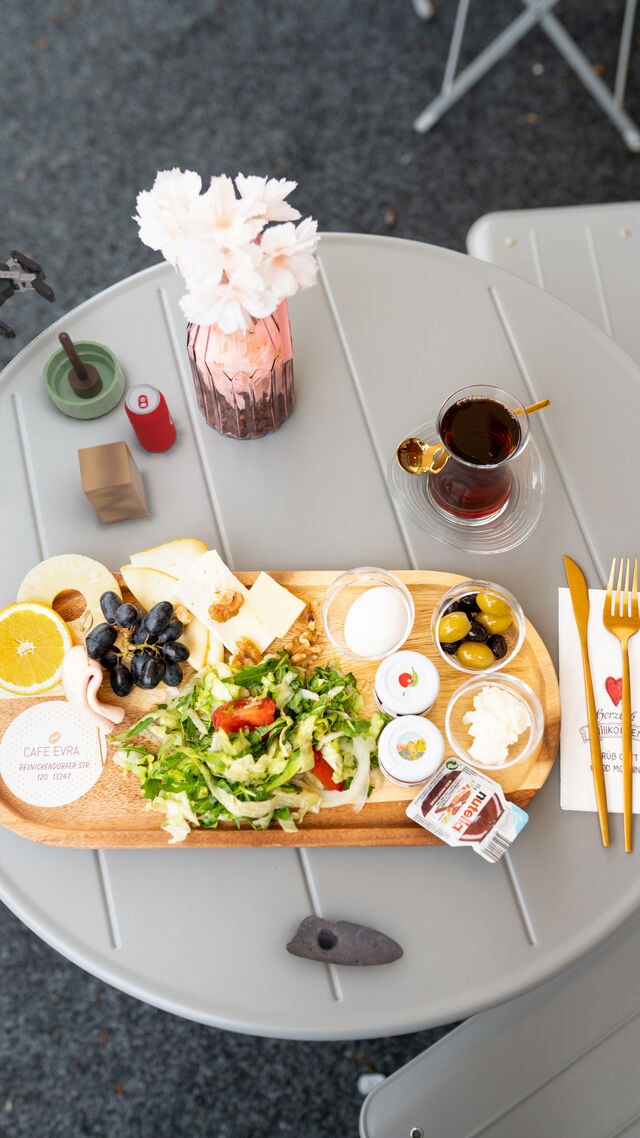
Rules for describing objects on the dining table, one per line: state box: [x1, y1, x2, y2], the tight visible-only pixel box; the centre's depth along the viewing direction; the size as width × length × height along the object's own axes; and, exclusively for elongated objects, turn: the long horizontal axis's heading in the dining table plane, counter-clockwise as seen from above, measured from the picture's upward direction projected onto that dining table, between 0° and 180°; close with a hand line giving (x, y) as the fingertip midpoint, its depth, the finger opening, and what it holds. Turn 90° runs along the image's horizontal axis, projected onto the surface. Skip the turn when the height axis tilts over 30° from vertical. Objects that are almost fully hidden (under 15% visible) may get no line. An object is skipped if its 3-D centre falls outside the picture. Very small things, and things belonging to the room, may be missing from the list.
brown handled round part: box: [57, 331, 103, 399], centre depth 130 cm, size 5×5×14 cm
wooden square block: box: [77, 440, 149, 525], centre depth 125 cm, size 7×7×12 cm
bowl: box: [42, 340, 126, 420], centre depth 135 cm, size 12×12×5 cm
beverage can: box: [124, 383, 177, 453], centre depth 129 cm, size 6×6×12 cm
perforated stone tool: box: [285, 915, 405, 967], centre depth 105 cm, size 15×5×7 cm, turn 79°
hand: (32, 316), depth 126 cm, fingers open, 8 cm apart
